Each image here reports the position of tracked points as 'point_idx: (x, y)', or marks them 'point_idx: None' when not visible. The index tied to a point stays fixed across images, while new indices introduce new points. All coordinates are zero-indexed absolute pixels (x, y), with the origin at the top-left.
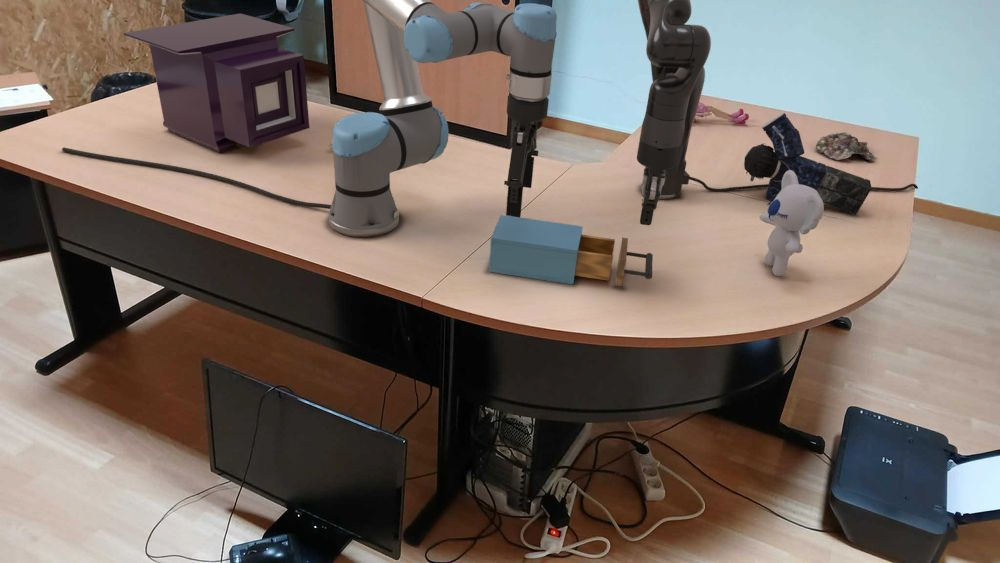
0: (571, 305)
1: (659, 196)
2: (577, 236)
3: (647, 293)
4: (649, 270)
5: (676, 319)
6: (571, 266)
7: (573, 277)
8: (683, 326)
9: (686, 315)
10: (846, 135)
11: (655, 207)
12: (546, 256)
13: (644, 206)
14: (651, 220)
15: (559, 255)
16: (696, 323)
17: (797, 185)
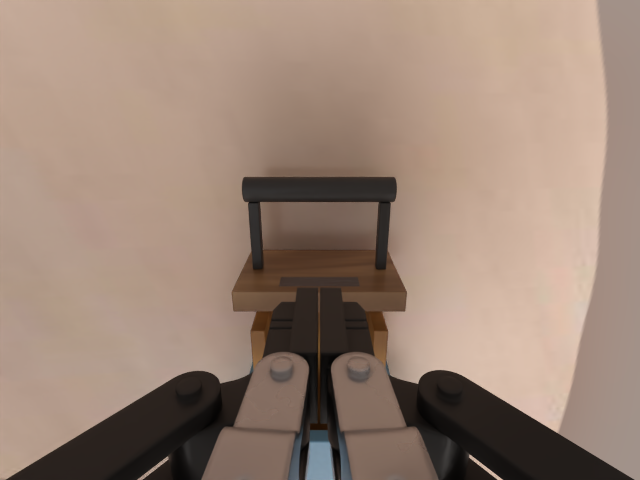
0: (480, 350)
1: (422, 450)
2: (312, 449)
3: (384, 170)
4: (376, 191)
5: (517, 77)
6: None
7: (388, 371)
8: (555, 54)
9: (491, 42)
10: None
11: (504, 405)
12: None
13: (476, 470)
14: (341, 301)
15: None
16: (535, 6)
17: None
